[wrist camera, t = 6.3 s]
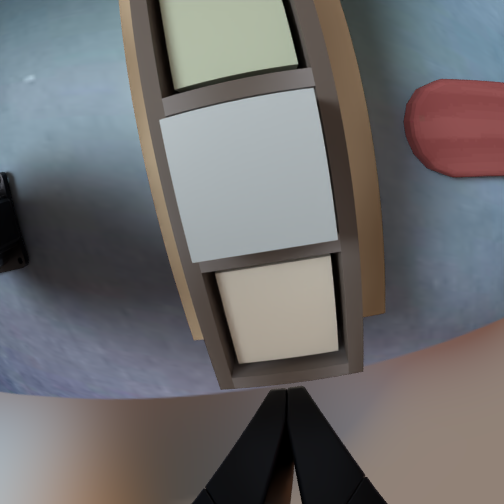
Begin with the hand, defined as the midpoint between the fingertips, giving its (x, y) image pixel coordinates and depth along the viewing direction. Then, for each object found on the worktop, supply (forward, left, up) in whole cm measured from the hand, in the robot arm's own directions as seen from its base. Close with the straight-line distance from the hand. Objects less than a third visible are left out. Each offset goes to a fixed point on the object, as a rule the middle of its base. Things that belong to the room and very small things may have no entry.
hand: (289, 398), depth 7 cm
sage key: (0, +10, -7) cm, 13 cm away
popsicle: (+15, +6, -10) cm, 19 cm away
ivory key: (0, 0, -7) cm, 7 cm away
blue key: (0, +5, -5) cm, 7 cm away
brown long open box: (0, +8, -9) cm, 12 cm away
